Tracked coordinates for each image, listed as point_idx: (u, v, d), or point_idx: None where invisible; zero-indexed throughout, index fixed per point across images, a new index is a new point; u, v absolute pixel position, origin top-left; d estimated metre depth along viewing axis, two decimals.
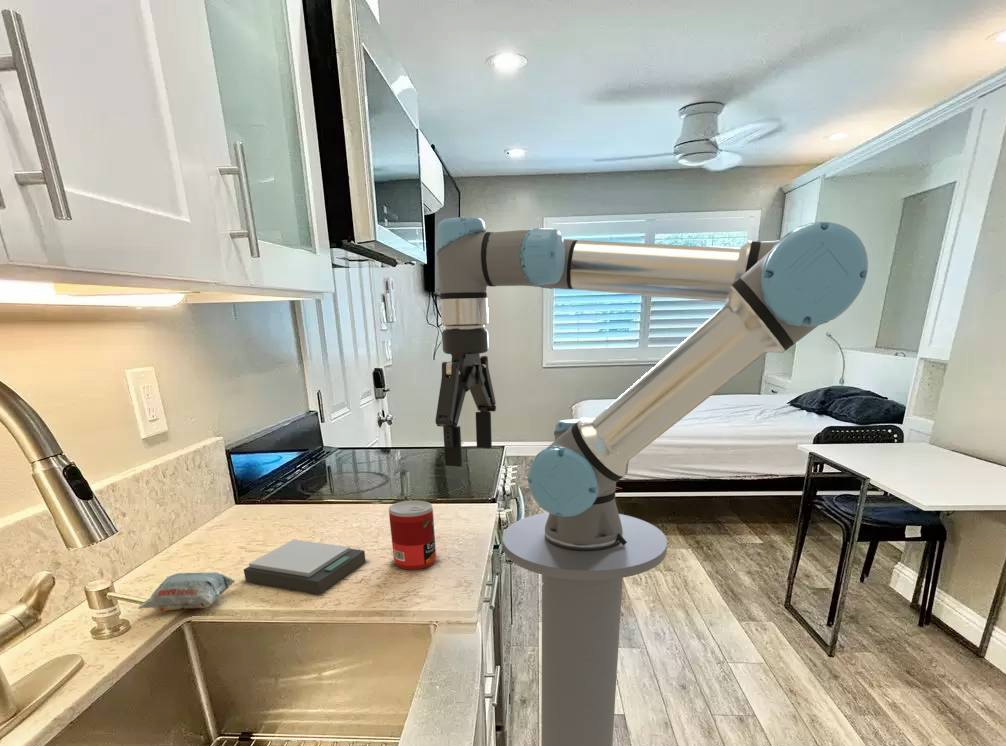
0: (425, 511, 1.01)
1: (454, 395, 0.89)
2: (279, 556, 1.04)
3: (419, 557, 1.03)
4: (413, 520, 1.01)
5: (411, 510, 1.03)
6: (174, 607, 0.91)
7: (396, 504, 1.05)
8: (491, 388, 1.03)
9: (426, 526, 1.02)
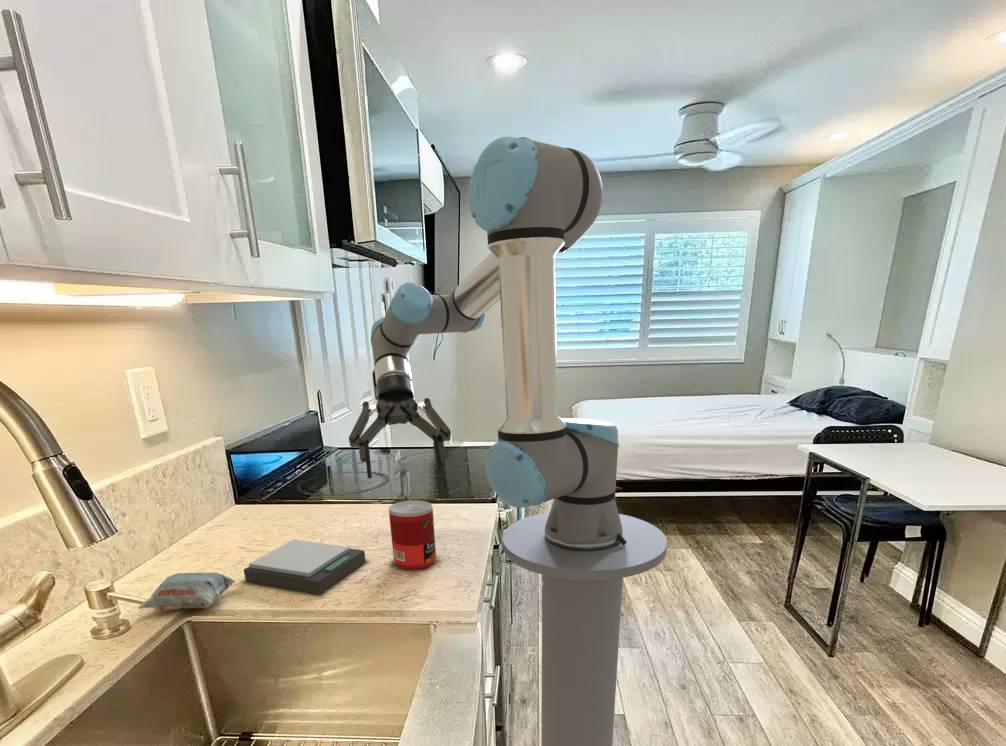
0: (425, 511, 1.01)
1: (359, 421, 1.13)
2: (279, 556, 1.04)
3: (419, 557, 1.03)
4: (413, 520, 1.01)
5: (411, 510, 1.03)
6: (174, 607, 0.91)
7: (396, 504, 1.05)
8: (440, 420, 1.16)
9: (426, 526, 1.02)
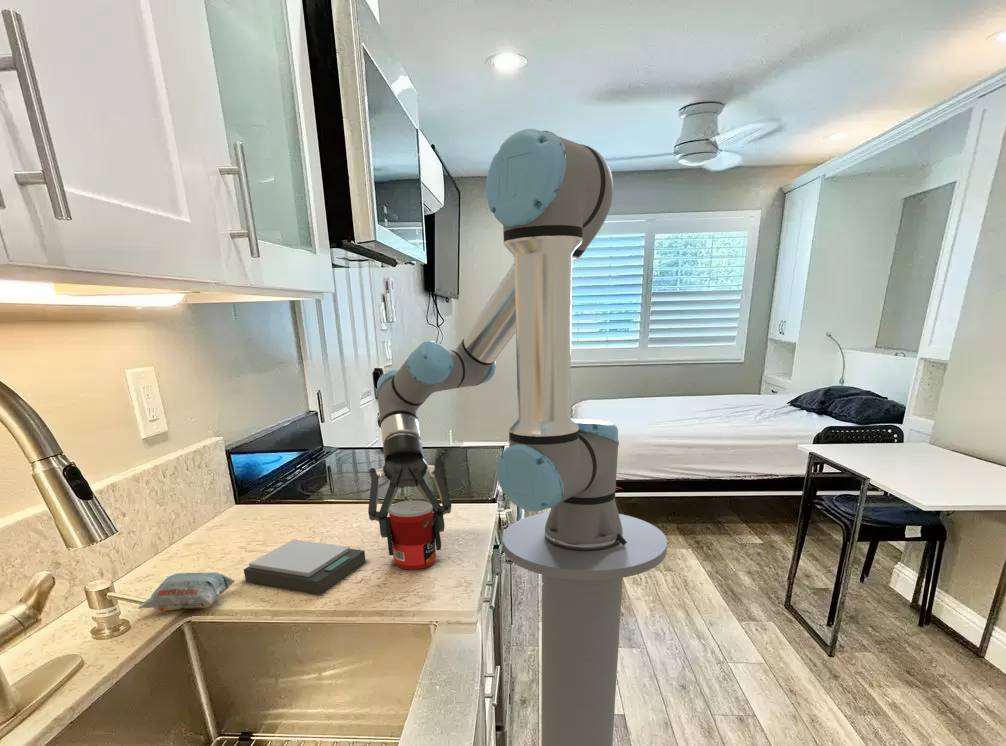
0: (425, 511, 1.01)
1: (372, 492, 1.05)
2: (279, 556, 1.04)
3: (419, 557, 1.03)
4: (413, 520, 1.01)
5: (411, 510, 1.03)
6: (174, 607, 0.91)
7: (396, 504, 1.05)
8: (443, 491, 1.07)
9: (426, 526, 1.02)
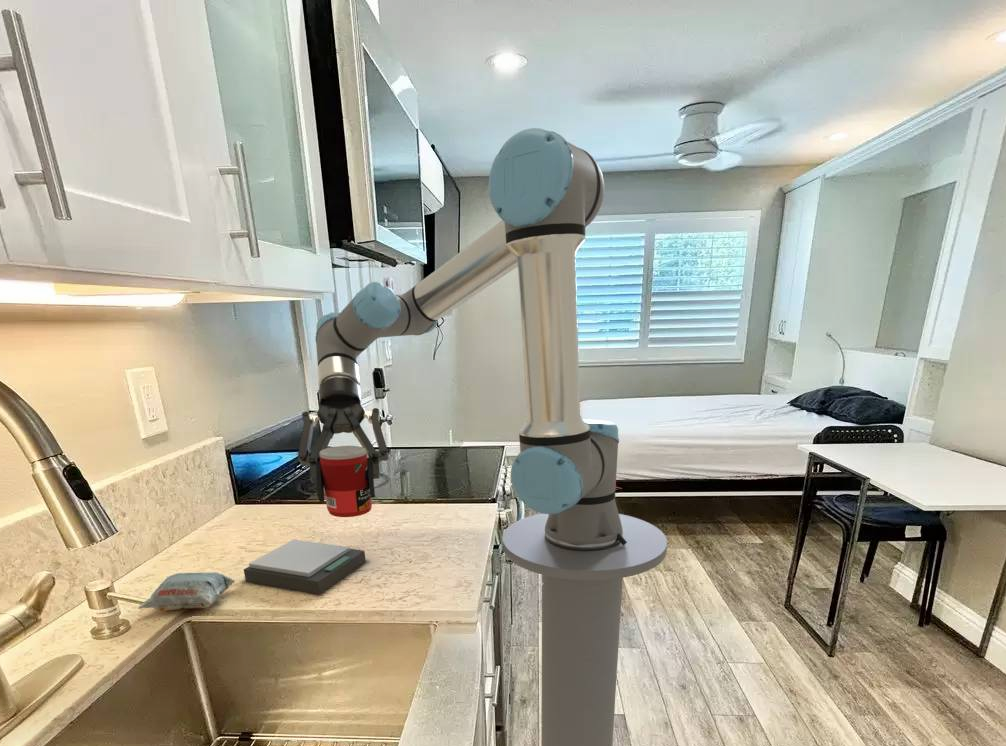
0: (356, 454, 0.96)
1: (304, 436, 1.00)
2: (279, 556, 1.04)
3: (352, 503, 0.98)
4: (343, 463, 0.95)
5: (342, 454, 0.97)
6: (174, 607, 0.91)
7: (329, 449, 1.00)
8: (380, 436, 1.02)
9: (358, 471, 0.97)
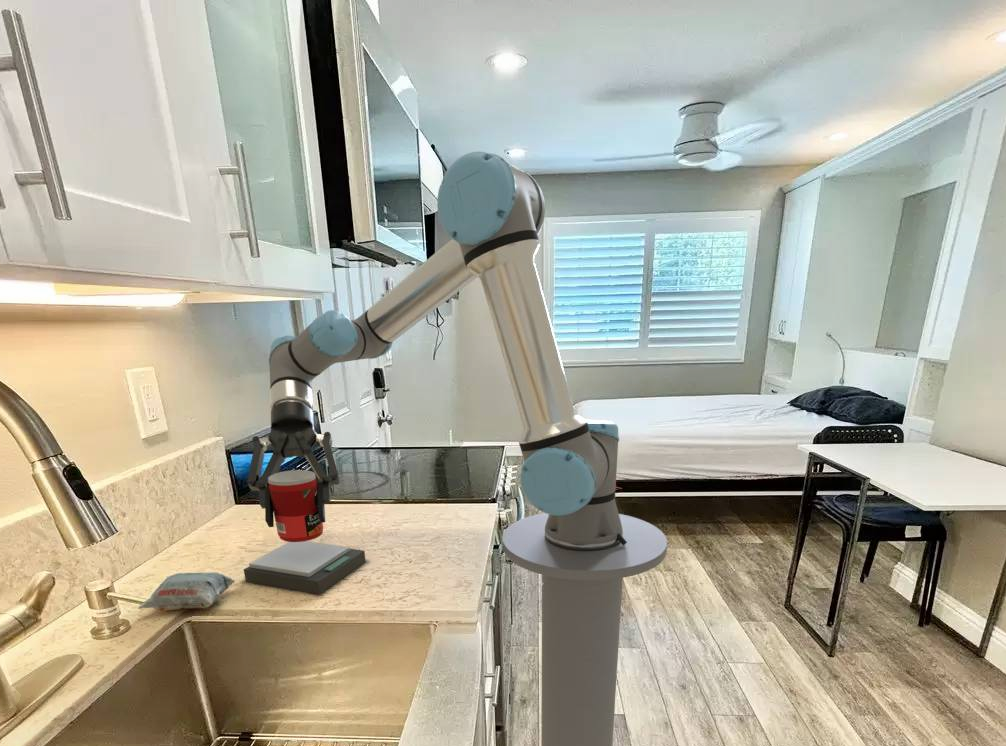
0: (304, 480, 0.96)
1: (254, 461, 1.00)
2: (279, 556, 1.04)
3: (301, 528, 0.98)
4: (291, 489, 0.95)
5: (291, 479, 0.97)
6: (174, 607, 0.91)
7: (278, 473, 1.00)
8: (331, 460, 1.02)
9: (307, 496, 0.97)
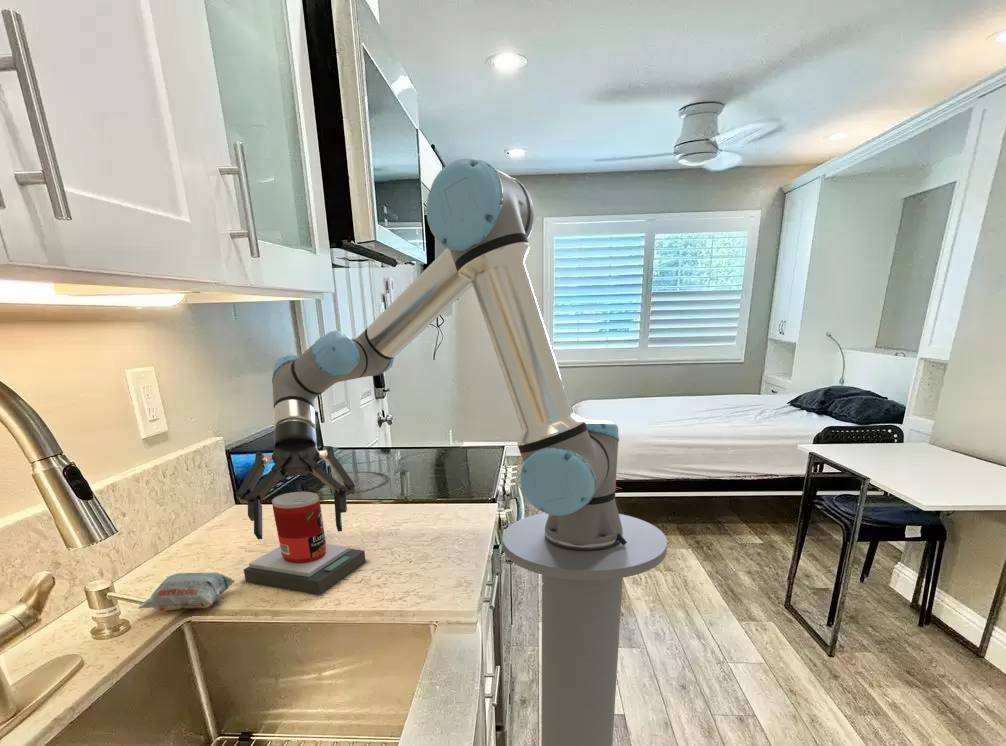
0: (308, 502, 0.97)
1: (250, 475, 1.01)
2: (279, 556, 1.04)
3: (305, 550, 1.00)
4: (295, 511, 0.97)
5: (295, 501, 0.99)
6: (174, 607, 0.91)
7: (282, 495, 1.01)
8: (342, 472, 1.04)
9: (310, 518, 0.98)
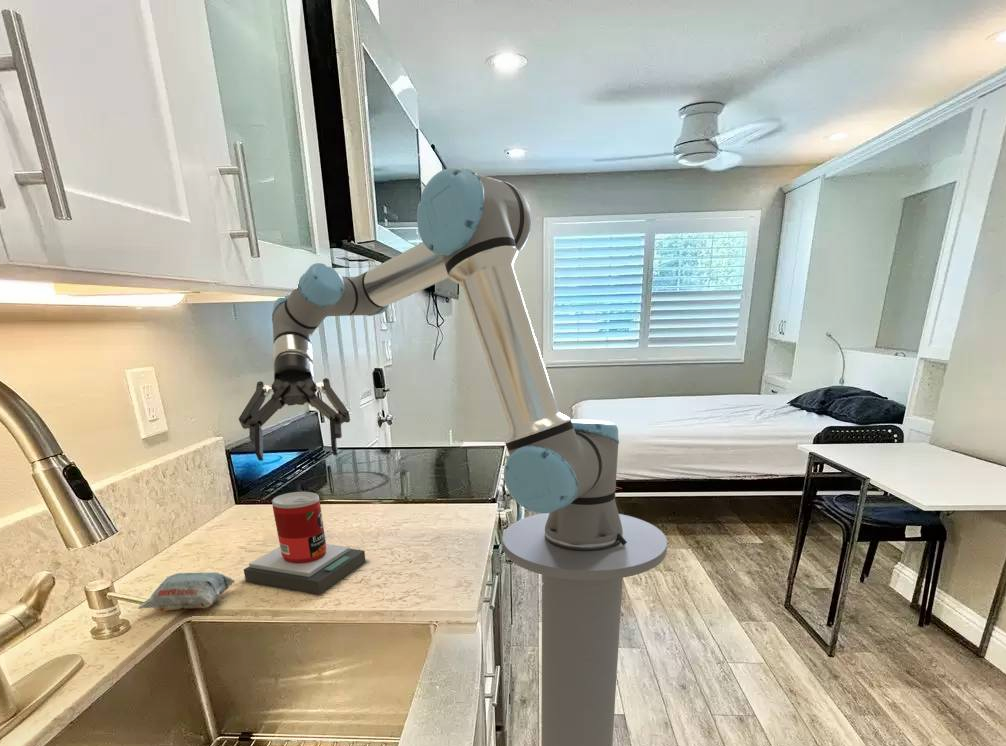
0: (308, 502, 0.97)
1: (251, 402, 1.09)
2: (279, 556, 1.04)
3: (305, 550, 1.00)
4: (295, 511, 0.97)
5: (295, 501, 0.99)
6: (174, 607, 0.91)
7: (282, 495, 1.01)
8: (338, 401, 1.12)
9: (310, 518, 0.98)
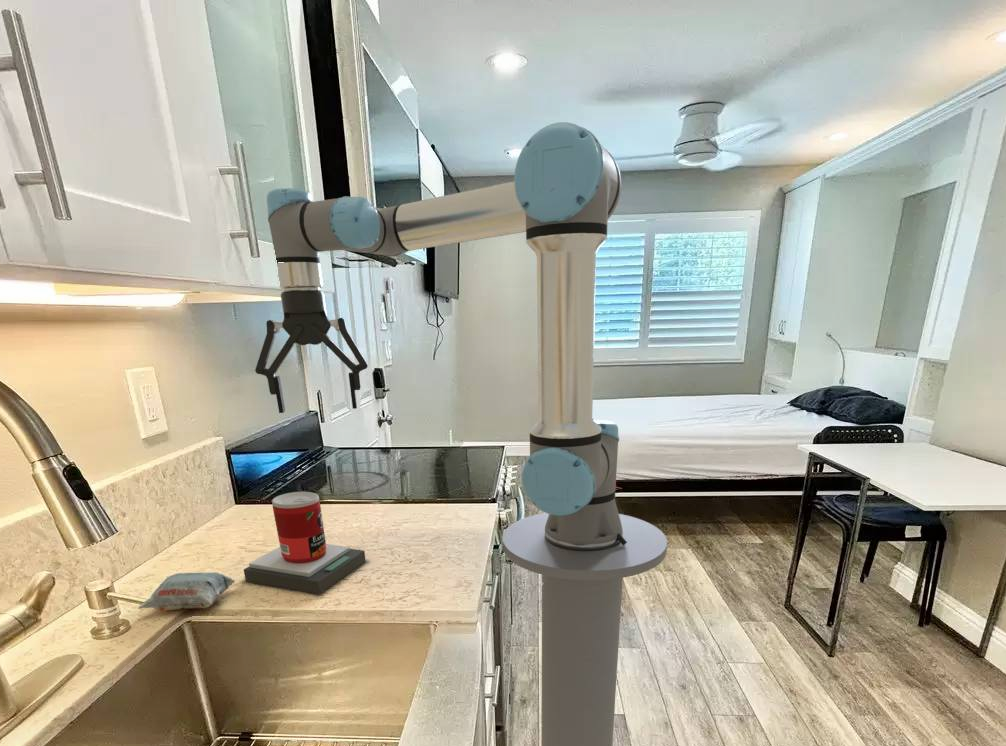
0: (308, 502, 0.97)
1: (265, 349, 1.04)
2: (279, 556, 1.04)
3: (305, 550, 1.00)
4: (295, 512, 0.97)
5: (295, 501, 0.99)
6: (174, 607, 0.91)
7: (282, 495, 1.01)
8: (355, 350, 1.07)
9: (310, 518, 0.98)
